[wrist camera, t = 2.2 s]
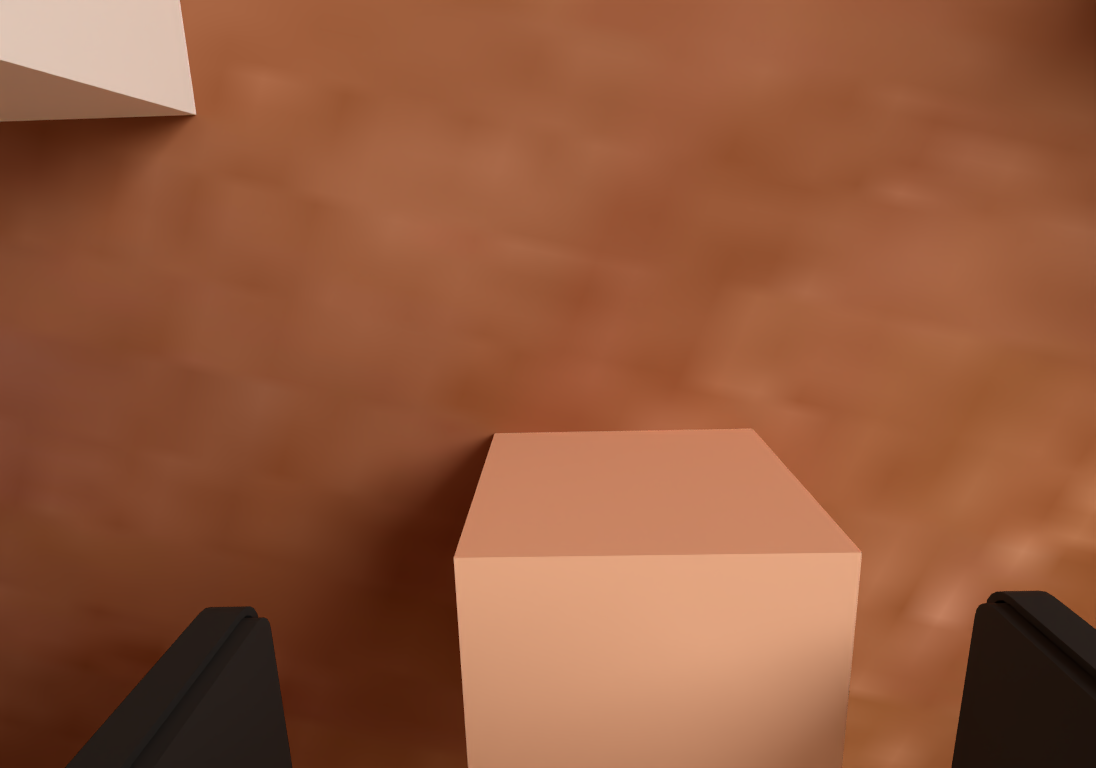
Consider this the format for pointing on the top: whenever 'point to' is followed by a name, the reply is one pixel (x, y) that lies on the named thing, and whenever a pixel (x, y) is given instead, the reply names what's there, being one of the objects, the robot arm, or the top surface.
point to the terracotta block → (652, 605)
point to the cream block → (93, 60)
